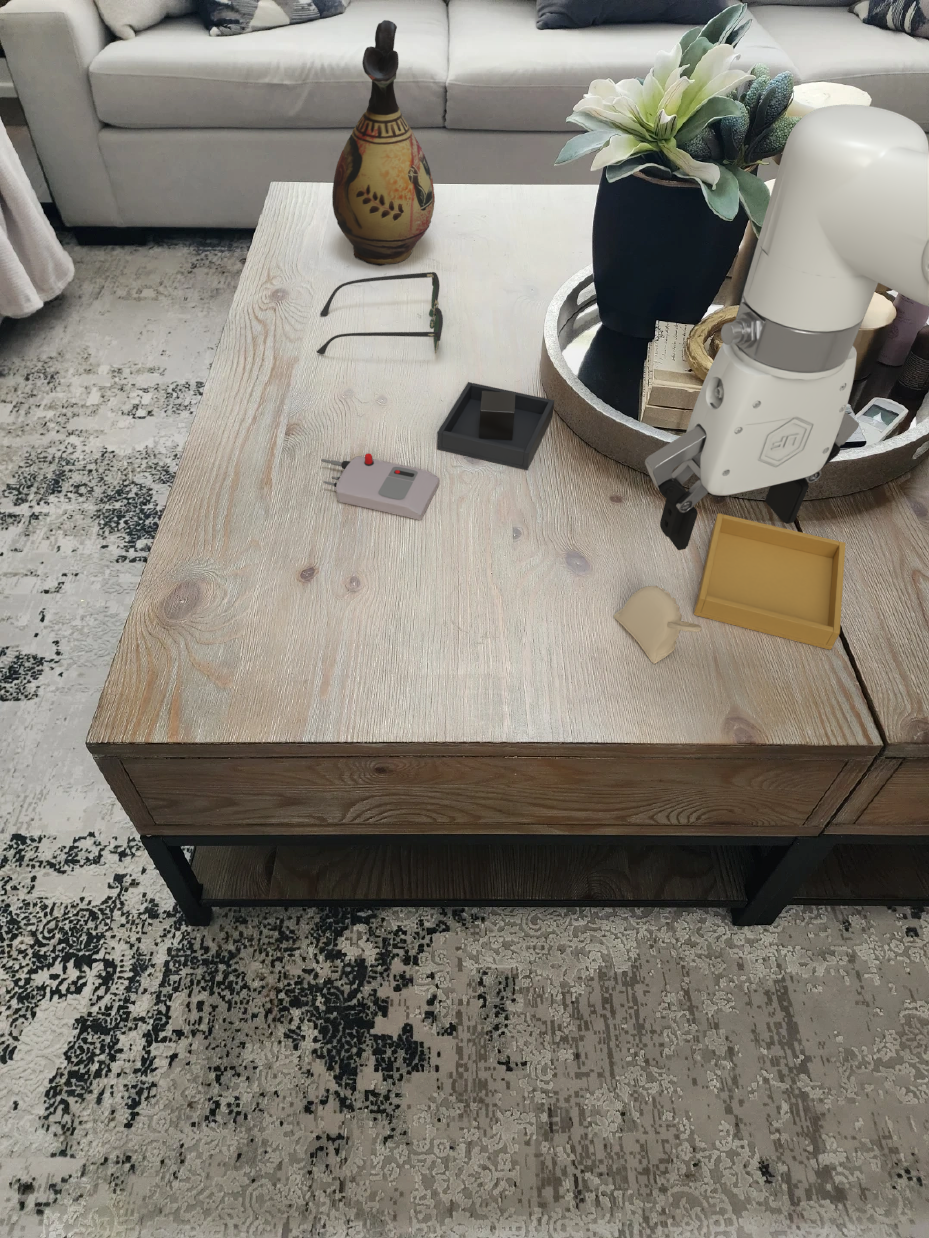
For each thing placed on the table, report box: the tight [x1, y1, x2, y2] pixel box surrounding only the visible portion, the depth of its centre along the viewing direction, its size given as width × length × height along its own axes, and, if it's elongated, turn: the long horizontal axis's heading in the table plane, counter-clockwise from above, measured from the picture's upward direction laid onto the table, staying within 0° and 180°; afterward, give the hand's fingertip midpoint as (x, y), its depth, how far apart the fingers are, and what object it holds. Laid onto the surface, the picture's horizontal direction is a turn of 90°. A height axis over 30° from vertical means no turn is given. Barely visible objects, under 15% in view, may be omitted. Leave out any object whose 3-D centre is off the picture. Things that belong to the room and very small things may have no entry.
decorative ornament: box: [613, 585, 703, 665], centre depth 80 cm, size 4×8×5 cm, turn 26°
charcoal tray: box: [436, 381, 555, 471], centre depth 102 cm, size 11×11×2 cm
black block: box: [479, 391, 515, 440], centre depth 101 cm, size 4×4×4 cm
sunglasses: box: [316, 271, 444, 355], centre depth 116 cm, size 16×17×5 cm
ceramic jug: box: [331, 19, 436, 266], centre depth 123 cm, size 17×15×30 cm
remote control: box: [320, 452, 440, 521], centre depth 94 cm, size 7×16×3 cm, turn 73°
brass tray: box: [693, 513, 846, 651], centre depth 86 cm, size 13×13×2 cm
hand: (726, 525), depth 68 cm, fingers open, 9 cm apart
